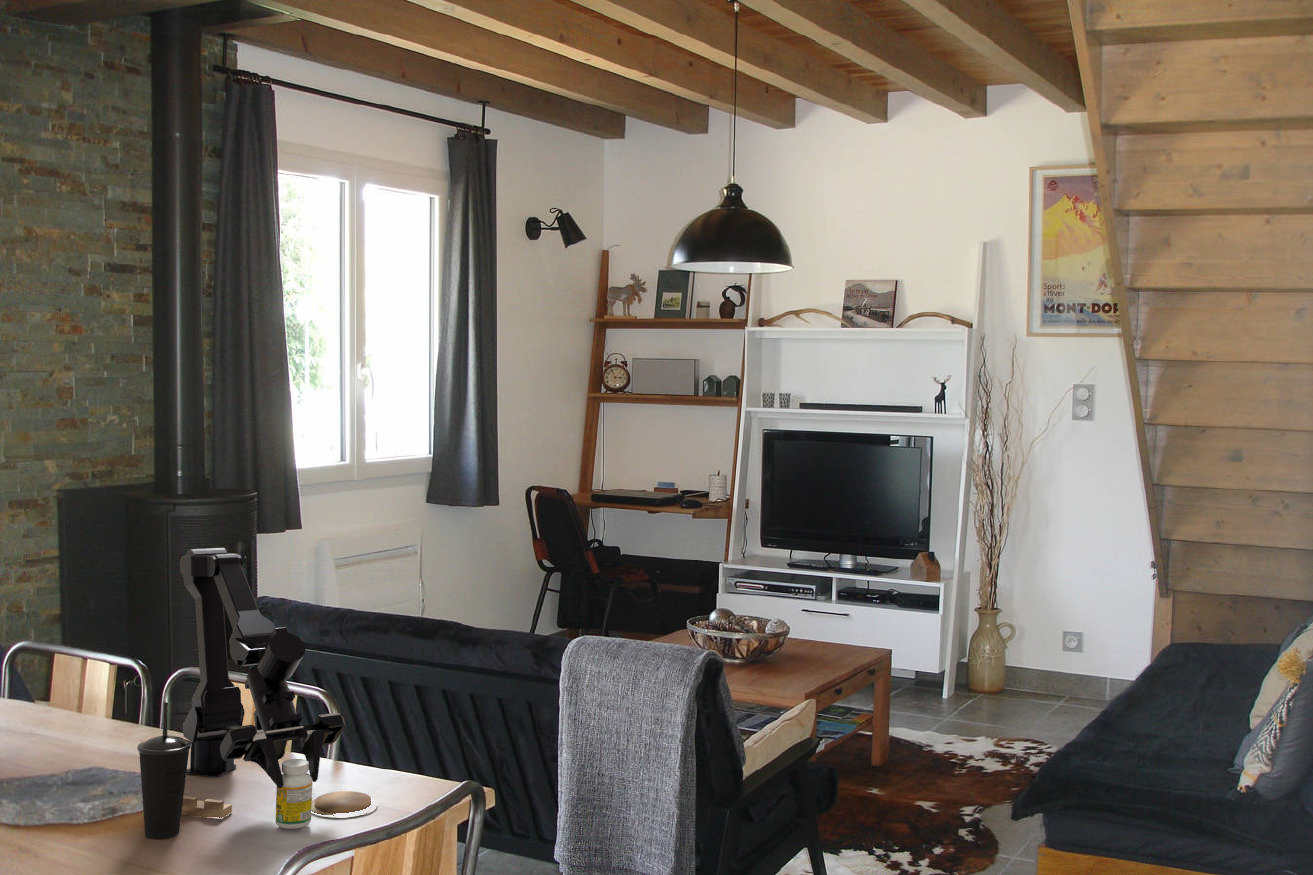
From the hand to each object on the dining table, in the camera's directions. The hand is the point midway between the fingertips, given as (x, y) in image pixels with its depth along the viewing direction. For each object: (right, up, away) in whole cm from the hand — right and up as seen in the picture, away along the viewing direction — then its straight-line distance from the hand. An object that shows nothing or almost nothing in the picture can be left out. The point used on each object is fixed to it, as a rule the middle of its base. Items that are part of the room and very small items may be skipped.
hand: (298, 783), depth 192 cm
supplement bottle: (-1, -7, +1) cm, 7 cm away
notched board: (-17, -6, +6) cm, 19 cm away
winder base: (+4, -7, +11) cm, 14 cm away
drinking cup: (-20, -7, -4) cm, 21 cm away
